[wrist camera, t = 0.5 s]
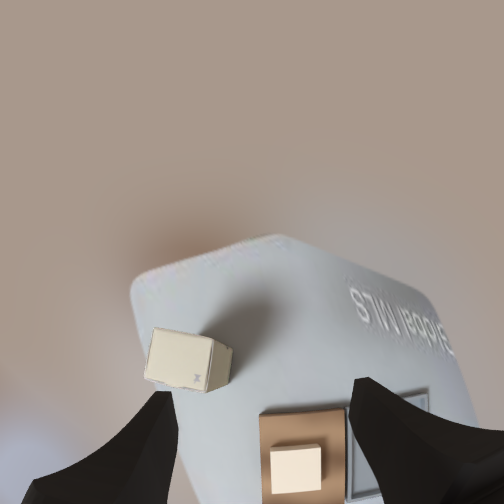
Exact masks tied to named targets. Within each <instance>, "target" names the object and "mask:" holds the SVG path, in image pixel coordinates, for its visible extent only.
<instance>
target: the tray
mask: <svg viewBox="0 0 504 504" xmlns="http://www.w3.org/2000/svg"><path fill="white" fill-rule="evenodd" d="M402 399H404V400H406V401H408V402H409V403H411V404H413V405H415V406H417V407H419V408H420V409H422V410H424V411H426V412H428V395H427V394H425V393H420V394H416V395H411V396H407V397H402ZM349 408H350V406H349V407H344V417H345V500H346V501H347V503H350V502H355V501H360V500H365V499H370V498H374V497H379V496H382V494H381V492H380V489H379V486H378V483H377V480H376V478H375V476H374V474H373V472H372V470H371V468H370V466H369V464H368V462H367V460H366V458H365V456H364V454H363V452H362V450H361V448H360V446H359V444H358V442H357V440H356V438H355V436H354V434H353V431H352V428H351V425H350V421H349V418H348V414H349Z"/></svg>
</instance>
